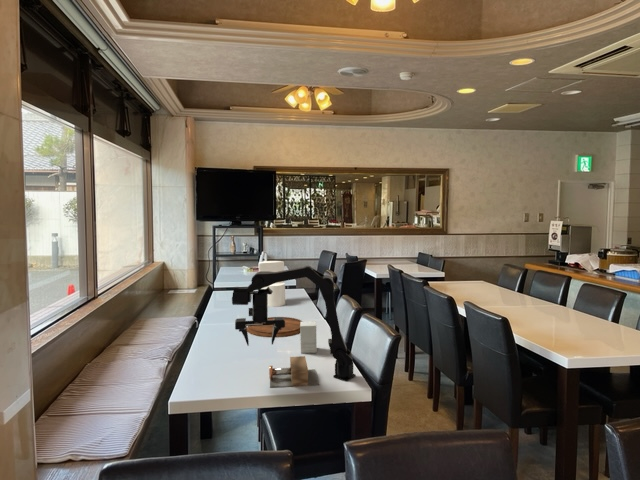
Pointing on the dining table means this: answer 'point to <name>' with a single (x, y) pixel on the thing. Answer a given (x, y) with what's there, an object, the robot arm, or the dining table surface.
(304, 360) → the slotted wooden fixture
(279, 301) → the cylinder
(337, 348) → the robot arm
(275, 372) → the pin
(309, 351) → the supplement box
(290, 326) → the cutting board
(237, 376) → the dining table surface
